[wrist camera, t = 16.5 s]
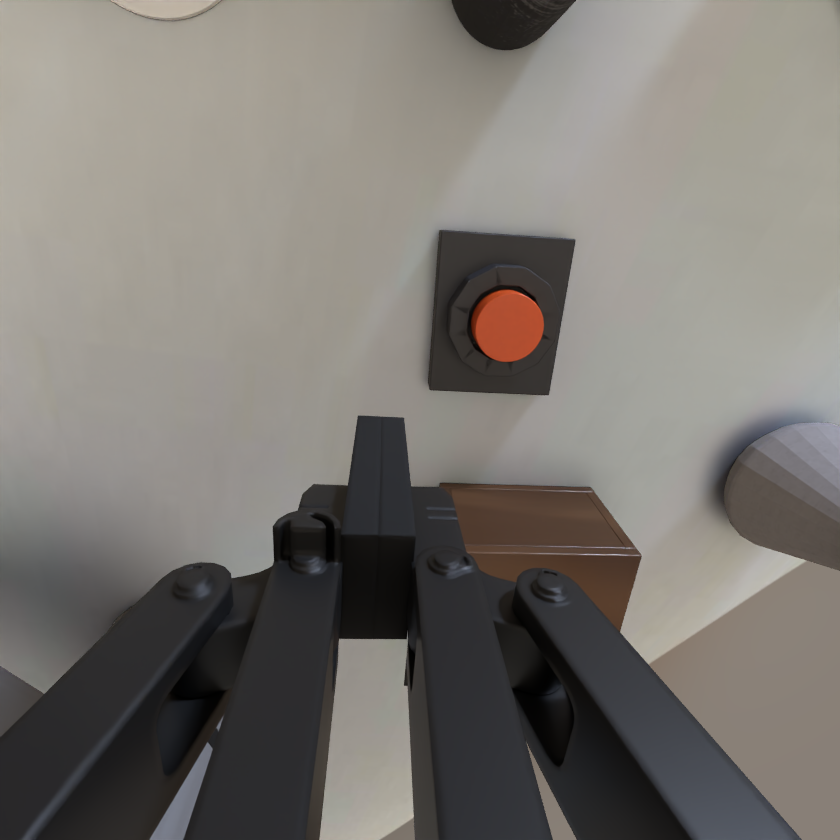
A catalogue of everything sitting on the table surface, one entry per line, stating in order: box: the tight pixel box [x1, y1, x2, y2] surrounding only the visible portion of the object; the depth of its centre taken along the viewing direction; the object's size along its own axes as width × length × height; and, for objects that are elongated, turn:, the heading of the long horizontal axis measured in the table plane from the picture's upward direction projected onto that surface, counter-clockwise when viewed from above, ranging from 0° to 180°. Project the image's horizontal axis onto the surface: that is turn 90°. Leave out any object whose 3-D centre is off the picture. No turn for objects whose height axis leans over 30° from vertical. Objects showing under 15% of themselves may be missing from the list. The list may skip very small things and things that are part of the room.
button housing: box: [428, 230, 575, 395], centre depth 34 cm, size 11×9×4 cm
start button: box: [471, 289, 544, 362], centre depth 32 cm, size 4×4×2 cm
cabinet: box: [439, 483, 642, 632], centre depth 40 cm, size 15×13×9 cm
